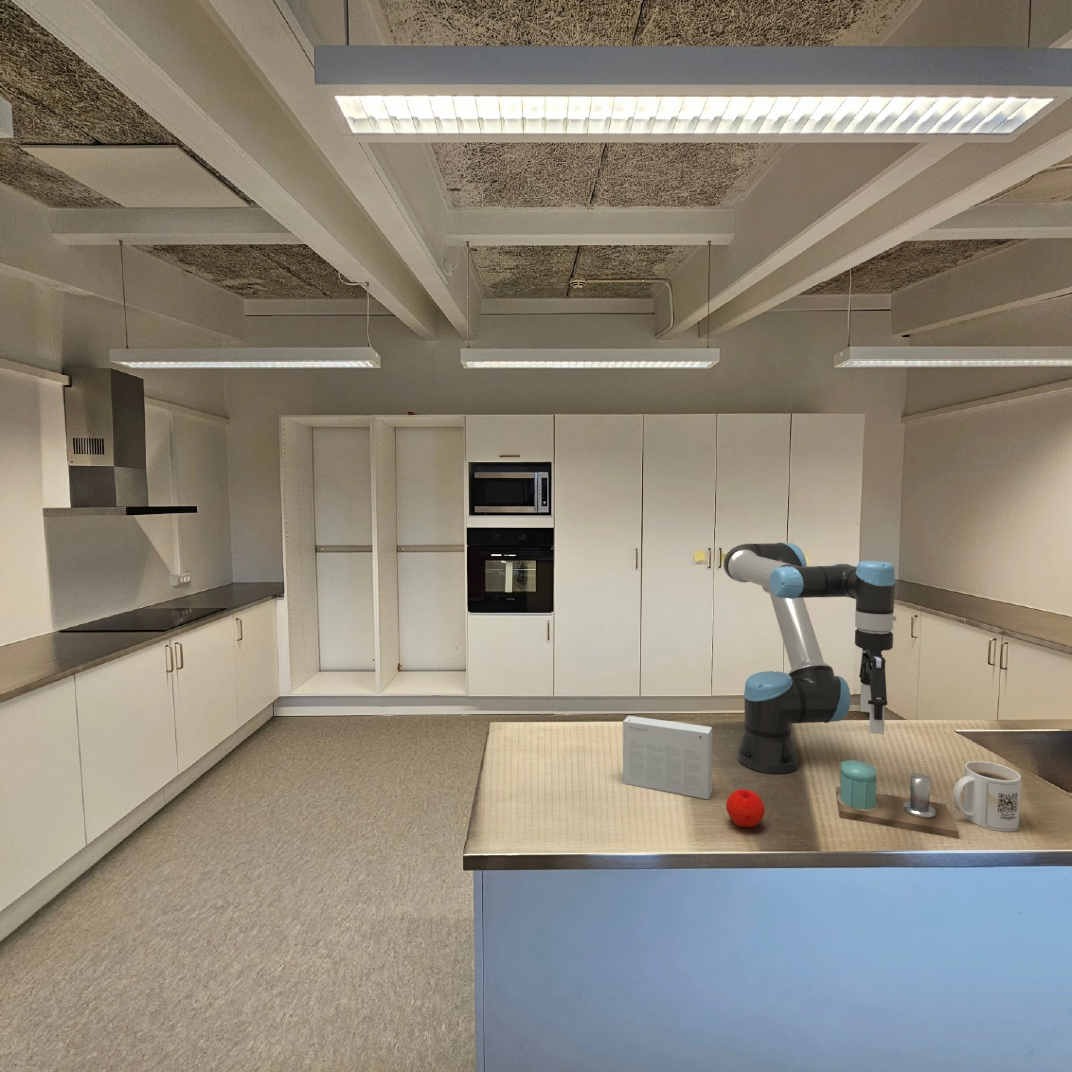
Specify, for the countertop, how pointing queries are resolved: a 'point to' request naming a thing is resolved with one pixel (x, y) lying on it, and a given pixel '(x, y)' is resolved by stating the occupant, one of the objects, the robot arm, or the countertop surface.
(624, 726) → the skincare box
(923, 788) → the stud
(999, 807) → the mug
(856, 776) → the cap
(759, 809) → the apple
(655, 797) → the countertop surface
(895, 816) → the board
